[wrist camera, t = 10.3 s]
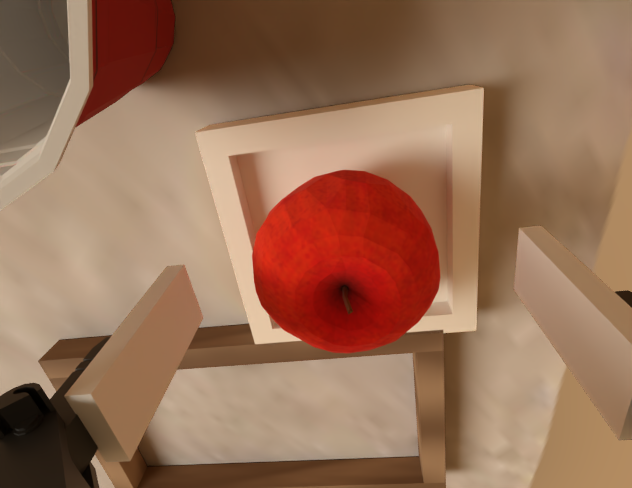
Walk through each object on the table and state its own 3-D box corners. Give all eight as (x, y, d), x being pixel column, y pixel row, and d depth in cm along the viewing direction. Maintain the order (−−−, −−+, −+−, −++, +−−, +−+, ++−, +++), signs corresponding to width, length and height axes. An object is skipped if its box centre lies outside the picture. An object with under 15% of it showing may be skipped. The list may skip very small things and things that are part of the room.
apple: (275, 290, 22) (245, 390, 16) (261, 153, 19) (216, 207, 12) (415, 291, 22) (447, 396, 15) (428, 149, 18) (476, 203, 12)
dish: (208, 125, 19) (194, 132, 17) (469, 84, 18) (483, 88, 16) (262, 326, 24) (255, 347, 23) (466, 308, 23) (476, 330, 21)
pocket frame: (59, 340, 26) (38, 361, 24) (435, 308, 23) (443, 329, 21) (136, 478, 33) (124, 503, 31) (439, 468, 29) (445, 495, 28)
